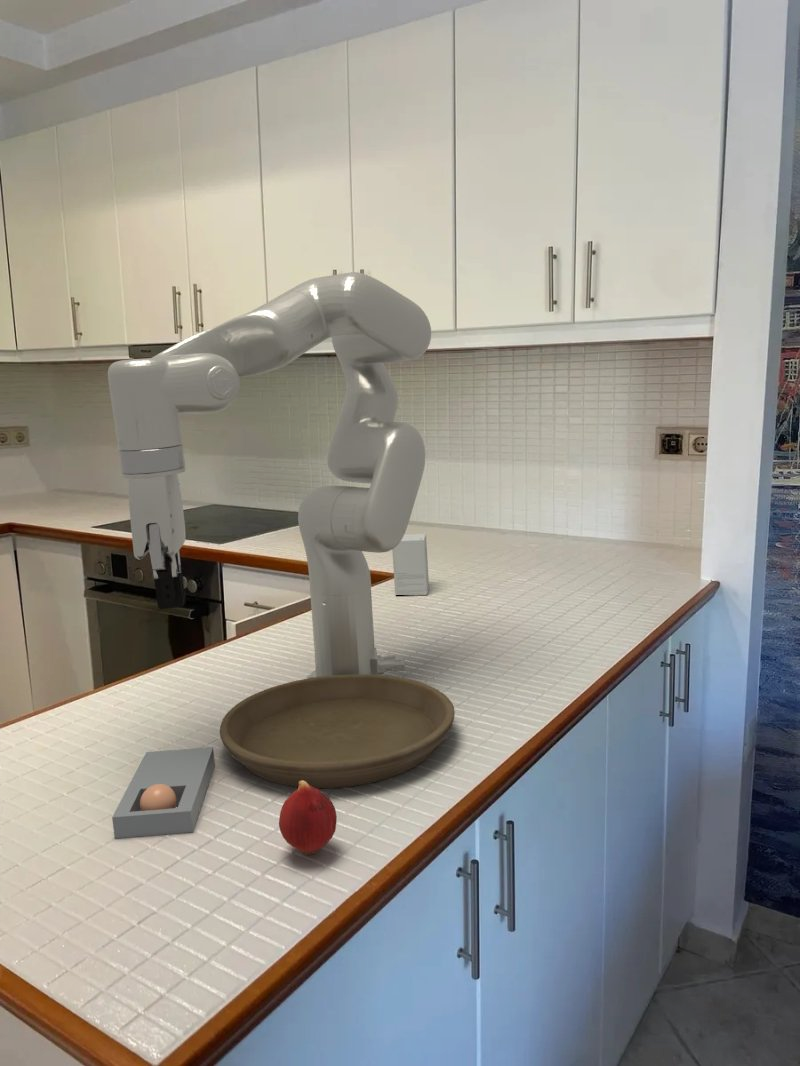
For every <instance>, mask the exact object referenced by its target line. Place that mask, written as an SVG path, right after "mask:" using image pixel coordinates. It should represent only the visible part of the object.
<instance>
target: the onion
mask: <svg viewBox="0 0 800 1066" xmlns="http://www.w3.org/2000/svg"><path fill="white" fill-rule="evenodd" d="M337 816H338V815H337V811H336V807H335V805H334V803H333V801H332V800H331V799H330V798H329V797H328V796H327V795H326V794H325V793H323V792H322V791H321V790H320V789H319V788H313V787H312V786H310V785H308V784H307V782H306V781H299V787H298V788H297V789H296V790H294V791H293V792H292V793H291V794H290V795H289V796H288V797H287V798H286V800H284V802H283V804H282V806H281V810H280V811H279V819H278V826H279V827H278V828H279V830H280V833H281V836H282V837H283V839H284V841H286V843H287V844H288V845H290V846H291V847H293V848H294V849H295V850H298V851H299V852H301V853H303V854H305V855H308V856H309V855H313V854H314V853H316V852H318V851H320V850H321V849H323V848H324V847H326V845H327V844H328V843H329V842H330V841H331V840H332V838H333V836H334V835H335V832H336V828H337Z"/></svg>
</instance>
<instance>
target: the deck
mask: <svg viewBox="0 0 800 1066" xmlns="http://www.w3.org/2000/svg"><path fill="white" fill-rule="evenodd" d="M215 767H216V762H215V751H214V746H213V747H212V746H209V747H198V748H197V747H196V748H195V747H194V748H184V749H171V750H168V749H167V750H157V751H146V752H145V754H144V756H143V758H142V759H141V761H140V763H139V765H138V767H137V769H136V771H135V773H134V775H133V776H132V778H131V781H130V782H129V784H128V787H127V788H126V790H125V792H124V794H123V795H122V798H121V799H120V801H119V803H118V806H117V807H116V809H115V811H114V813H113V814H112V816H111V818H112V827H113V835H114V839H124V838H126V839H127V838H137V837H151V836H161V835H163V836H165V835H173V834H174V835H175V834H176V835H177V834H185V833H189V834H190V833H194V831H195V829H196V828H195V827H196V825H197V821H198V818H199V815H200V812H201V809H202V806H203V804H204V800H205V797H206V794H207V791H208V789H209V785H210V783H211V779H212V775H213V773H214V769H215ZM155 784H164V785H167V786H169V787H170V788H171V789H172V790H173V791H174V792H175V794H176V798H177V804H176V808H172V809H160V810H147V811H141V809H140V799H141V796H142V794H143V793H144V791H145V790H146V789H147V788H149V787H150V786H152V785H155Z"/></svg>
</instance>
